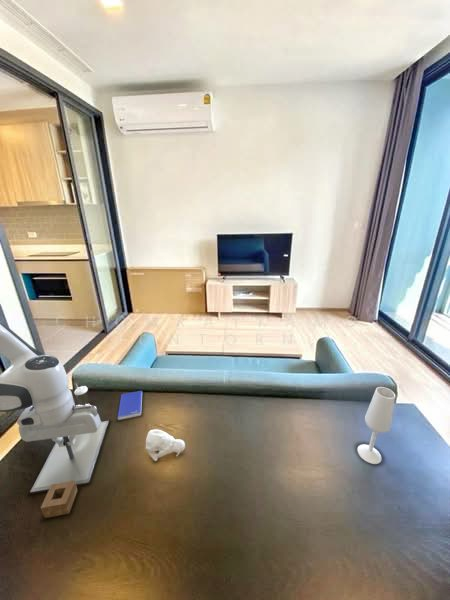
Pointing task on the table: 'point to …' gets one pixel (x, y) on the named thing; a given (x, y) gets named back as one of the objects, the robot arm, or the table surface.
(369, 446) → the champagne flute
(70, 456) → the stylus
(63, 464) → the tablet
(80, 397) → the milkshake
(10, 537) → the table surface
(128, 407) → the hard drive
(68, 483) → the stand
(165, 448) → the white animal figurine
